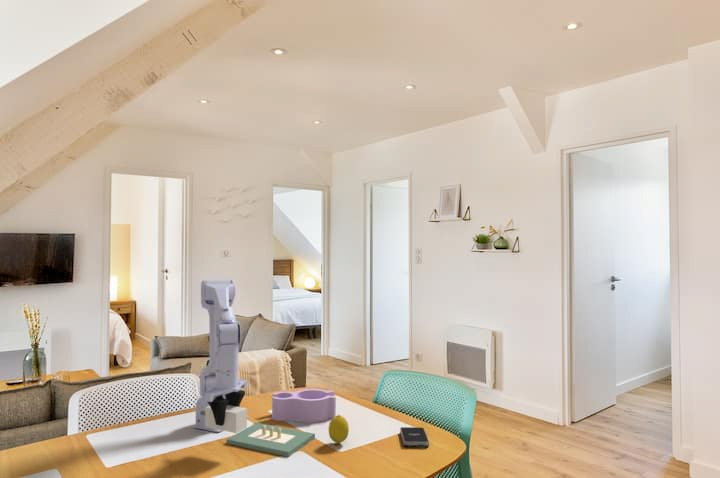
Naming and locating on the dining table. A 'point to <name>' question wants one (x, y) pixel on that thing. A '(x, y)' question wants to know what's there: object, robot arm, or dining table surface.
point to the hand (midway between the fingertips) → (226, 421)
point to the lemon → (338, 429)
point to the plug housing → (227, 419)
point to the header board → (271, 439)
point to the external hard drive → (414, 437)
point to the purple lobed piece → (304, 405)
